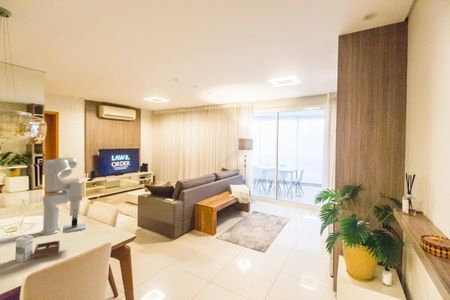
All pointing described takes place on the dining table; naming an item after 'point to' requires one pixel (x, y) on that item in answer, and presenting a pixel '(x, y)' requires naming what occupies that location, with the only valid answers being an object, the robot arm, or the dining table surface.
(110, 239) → the dining table surface
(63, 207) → the dining table surface
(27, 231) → the dining table surface
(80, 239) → the dining table surface
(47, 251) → the box
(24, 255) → the syrup box
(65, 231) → the lid
